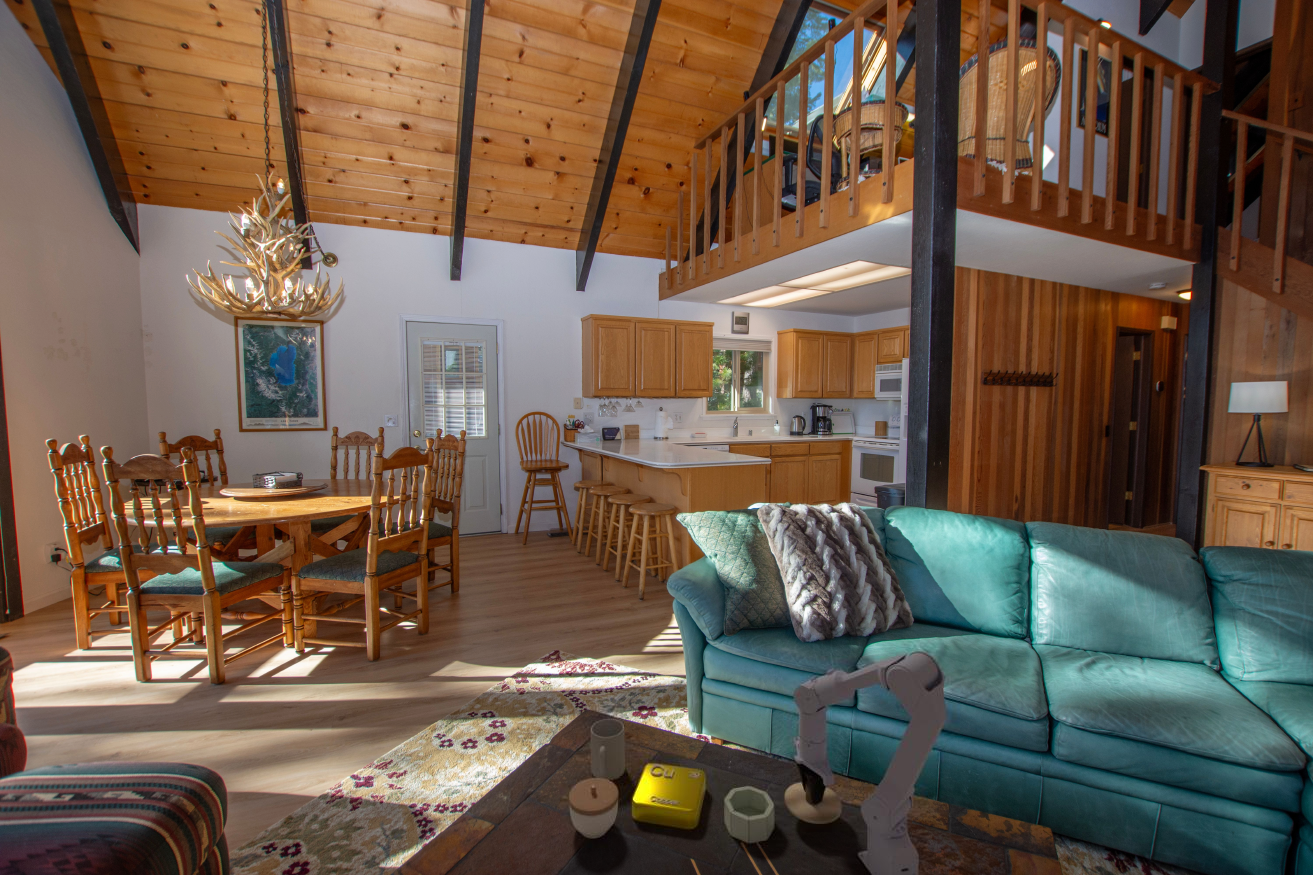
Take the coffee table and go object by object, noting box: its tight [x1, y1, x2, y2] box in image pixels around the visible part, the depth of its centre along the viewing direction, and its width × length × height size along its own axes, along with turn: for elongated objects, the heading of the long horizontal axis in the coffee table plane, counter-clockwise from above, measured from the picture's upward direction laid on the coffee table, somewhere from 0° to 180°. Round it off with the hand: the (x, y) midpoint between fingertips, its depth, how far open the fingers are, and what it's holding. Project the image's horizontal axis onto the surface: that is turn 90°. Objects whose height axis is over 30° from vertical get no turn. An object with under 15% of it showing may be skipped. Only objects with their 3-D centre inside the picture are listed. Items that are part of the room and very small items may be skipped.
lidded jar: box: [568, 777, 619, 839], centre depth 122 cm, size 11×11×9 cm
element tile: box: [631, 762, 707, 830], centre depth 130 cm, size 15×15×5 cm
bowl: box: [723, 785, 775, 844], centre depth 123 cm, size 10×10×5 cm
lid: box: [784, 781, 842, 825], centre depth 123 cm, size 12×12×4 cm
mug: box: [590, 718, 626, 781], centre depth 140 cm, size 12×8×11 cm
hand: (812, 796), depth 123 cm, fingers closed on lid, 3 cm apart
